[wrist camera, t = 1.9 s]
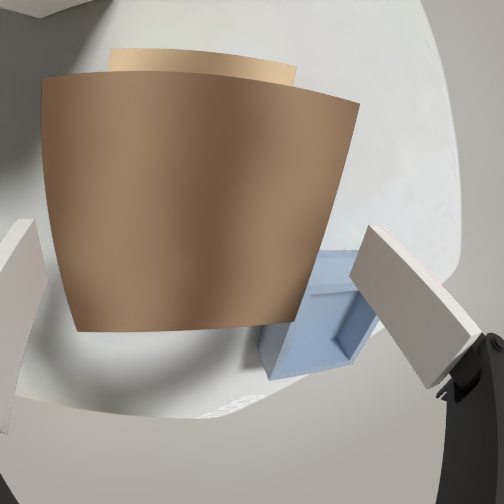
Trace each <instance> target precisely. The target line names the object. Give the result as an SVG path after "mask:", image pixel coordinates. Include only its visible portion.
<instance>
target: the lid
mask: <svg viewBox="0 0 504 504" xmlns="http://www.w3.org/2000/svg"><path fill="white" fill-rule="evenodd" d="M359 106H360V104H359V103H355V102H352V101H349V100H345V99H341V98H338V97H334V96H330V95H326V94H322V93H318V92H314V91H310V90H306V89H301V88H296V87H292V86H287V85H282V84H276V83H271V82H265V81H259V80H252V79H246V78H238V77H231V76H222V75H213V74H202V73H189V72H170V71H112V72H94V73H81V74H71V75H62V76H54V77H47V78H42V99H41V136H42V157H43V170H44V181H45V190H46V199H47V206H48V213H49V219H50V225H51V231H52V237H53V242H54V247H55V252H56V256H57V261H58V265H59V270H60V274H61V278H62V282H63V285H64V289H65V293H66V297H67V300H68V304H69V307H70V310H71V314H72V317H73V320H74V323H75V326H76V329H77V332H153V331H182V330H202V329H218V328H233V327H246V326H257V325H268V324H278V323H288V322H294V321H295V318H296V316H297V313H298V310H299V307H300V305H301V302H302V299H303V296H304V293H305V290H306V288H307V285H308V282H309V279H310V276H311V273H312V270H313V267H314V264H315V261H316V258H317V255H318V252H319V249H320V246H321V242H322V239H323V236H324V233H325V230H326V227H327V223H328V220H329V217H330V213H331V210H332V207H333V203H334V200H335V197H336V193H337V190H338V186H339V183H340V179H341V176H342V172H343V169H344V165H345V161H346V158H347V154H348V150H349V146H350V142H351V139H352V135H353V131H354V127H355V123H356V119H357V114H358V110H359Z"/></svg>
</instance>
